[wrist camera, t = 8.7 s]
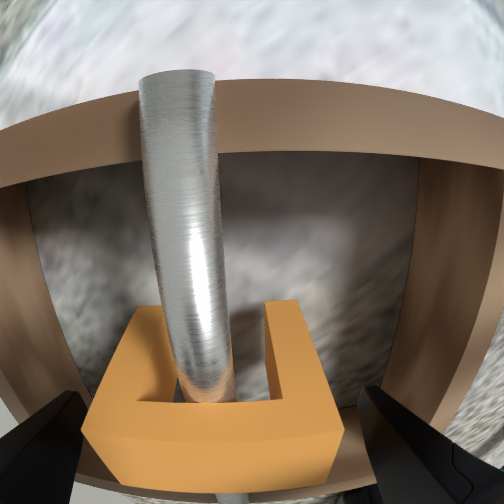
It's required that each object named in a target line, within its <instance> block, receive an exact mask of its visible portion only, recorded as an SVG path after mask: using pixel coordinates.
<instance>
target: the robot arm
mask: <svg viewBox="0 0 504 504" xmlns="http://www.w3.org/2000/svg"><path fill="white" fill-rule="evenodd" d="M357 411H358V415H359V420H360V424H361V429H362V434H363V438H364V443H365V448H366V451H367V454H368V457H369V460H370V463H371V466H372V469H373V472H374V475H375V478H376V481H377V483H375V484H371V485H367V486H363V487H359V488H355V489H351V490H346V491H342V492H340V494H339V496H338V498H337V500H336V501H335V503H334V504H504V471H502V470H500V469H498V468H496V467H494V466H492V465H490V464H488V463H486V462H484V461H482V460H481V459H479V458H477V457H475V456H473V455H472V454H470V453H469V452H467V451H466V450H464V449H463V448H461V447H460V446H458V445H457V444H456V443H453V442H452V441H451V440H450V439H448V438H447V437H446V436H444V435H443V434H442V433H440V432H439V431H437V430H436V429H435V428H433V427H432V426H430V425H429V424H428V423H426V422H425V421H424V420H422V419H421V418H420V417H418V416H417V415H415V414H414V413H413V412H411V411H410V410H409V409H407V408H406V407H405V406H403V405H402V404H401V403H399V402H398V401H397V400H395V399H394V398H393V397H391V396H390V395H389V394H387V393H386V392H385V391H383V390H382V389H381V388H379V387H378V386H377V385H368V386H364V387H362V389H361V392H360V396H359V399H358V403H357ZM87 413H88V408H87V406H86V404H85V402H84V400H83V398H82V396H81V394H80V393H79V392H78V391H76V390H70V389H68V390H65V391H64V392H63V393H61V394H60V395H59V396H57V397H56V398H55V399H53V400H52V401H50V402H49V403H48V404H46V405H45V406H44V407H42V408H41V409H40V410H38V411H37V412H36V413H34V414H33V415H31V416H30V417H29V418H27V419H26V420H25V421H23V422H22V423H21V424H19V425H18V426H16V427H15V428H14V429H13V430H11V431H10V432H8V433H7V434H6V435H4V436H3V437H1V438H0V504H69V502H70V496H71V492H72V488H73V483H74V479H75V475H76V471H77V467H78V463H79V459H80V455H81V451H82V445H83V439H84V434H83V433H82V431H81V428H82V425H83V423H84V420H85V418H86V415H87Z"/></svg>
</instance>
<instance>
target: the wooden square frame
mask: <svg viewBox="0 0 504 504" xmlns="http://www.w3.org/2000/svg"><path fill="white" fill-rule="evenodd" d="M252 151H342V152H364V153H380V154H393V155H405V156H415V157H420V167H419V187H418V201H417V212H416V222H415V231H414V239H413V247H412V254H411V260H410V267H409V273H408V278H407V284H406V289H405V294H404V299H403V304H402V309H401V313H400V318H399V322H398V326H397V330H396V334H395V338H394V342H393V346H392V350H391V353H390V357H389V360H388V364H387V367H386V371H385V374H384V377H383V380H382V384H381V387H380V388H381V389H382V390H383V391H385V392H386V393H387V394H389V395H390V396H391V397H393V398H394V399H395V400H397V401H398V402H399V403H401V404H402V405H403V406H405V407H406V408H407V409H409V410H410V411H411V412H413V413H414V414H415V415H417V416H418V417H420V418H421V419H422V420H424V421H425V422H426V423H428V424H429V425H430V426H432V427H433V428H435V429H436V430H437V431H439V432H440V433H442V434H443V433H444V432H445V430H446V428H447V427H448V425H449V424H450V422H451V420H452V419H453V417H454V415H455V414H456V412H457V410H458V409H459V407H460V405H461V403H462V401H463V400H464V398H465V396H466V394H467V392H468V390H469V388H470V386H471V385H472V383H473V381H474V379H475V377H476V375H477V372H478V370H479V368H480V366H481V364H482V362H483V360H484V357H485V355H486V353H487V350H488V348H489V346H490V343H491V341H492V338H493V336H494V333H495V331H496V328H497V325H498V323H499V320H500V317H501V314H502V311H503V308H504V118H502V117H499V116H496V115H494V114H491V113H488V112H485V111H482V110H478V109H475V108H472V107H469V106H465V105H462V104H458V103H454V102H451V101H447V100H443V99H439V98H435V97H430V96H426V95H421V94H417V93H412V92H407V91H401V90H396V89H390V88H383V87H377V86H370V85H362V84H354V83H344V82H333V81H320V80H302V79H239V80H220V81H215V75H214V74H213V73H211V72H208V71H202V70H172V71H165V72H159V73H155V74H152V75H149V76H146V77H144V78H142V79H141V80H139V90H138V91H132V92H127V93H122V94H117V95H113V96H108V97H104V98H99V99H95V100H91V101H87V102H83V103H80V104H76V105H72V106H69V107H65V108H62V109H59V110H55V111H52V112H49V113H46V114H43V115H40V116H37V117H34V118H31V119H29V120H26V121H23V122H21V123H18V124H15V125H13V126H10V127H8V128H5V129H3V130H0V397H1V399H2V400H3V402H4V403H5V405H6V406H7V408H8V409H9V411H10V412H11V413H12V415H13V416H14V418H15V419H16V420H17V422H18V423H19V424H21V423H22V422H23V421H25V420H26V419H27V418H29V417H30V416H31V415H33V414H34V413H36V412H37V411H38V410H40V409H41V408H42V407H44V406H45V405H46V404H48V403H49V402H50V401H52V400H53V399H55V398H56V397H57V396H59V395H60V394H61V393H63V392H64V391H65V390H68V389H70V390H76V391H78V392H79V393H80V394H81V396H82V398H83V400H84V402H85V404H86V406H87V408H88V411H89V408H90V406H91V404H92V401H93V399H92V397H91V395H90V393H89V391H88V389H87V387H86V385H85V383H84V381H83V379H82V377H81V375H80V373H79V371H78V368H77V366H76V364H75V362H74V359H73V357H72V355H71V352H70V350H69V347H68V345H67V343H66V340H65V337H64V335H63V332H62V330H61V327H60V324H59V322H58V319H57V316H56V313H55V310H54V307H53V304H52V301H51V298H50V295H49V292H48V288H47V285H46V282H45V278H44V275H43V271H42V267H41V264H40V260H39V256H38V252H37V247H36V243H35V238H34V234H33V229H32V224H31V218H30V213H29V207H28V201H27V194H26V187H25V181H29V180H34V179H38V178H42V177H47V176H52V175H56V174H61V173H66V172H71V171H77V170H82V169H88V168H94V167H100V166H106V165H112V164H119V163H126V162H133V161H141V160H142V166H143V177H144V188H145V197H146V206H147V215H148V223H149V230H150V238H151V245H152V251H153V258H154V264H155V270H156V276H157V282H158V288H159V293H160V298H161V304H162V309H163V314H164V319H165V323H166V328H167V333H168V337H169V342H170V346H171V350H172V355H173V359H174V363H175V367H176V371H177V375H178V379H179V383H180V387H181V390H182V394H183V398H184V401H185V403H231V402H237V395H236V386H235V376H234V366H233V356H232V345H231V335H230V323H229V312H228V300H227V288H226V275H225V262H224V249H223V234H222V219H221V204H220V187H219V169H218V153H230V152H252ZM338 412H339V415H340V418H341V421H342V424H343V426H344V429H345V430H344V433H343V436H342V439H341V442H340V445H339V448H338V451H337V453H336V456H335V459H334V462H333V464H332V467H331V470H330V472H329V475H328V477H327V480H326V482H325V484H320V485H314V486H308V487H301V488H294V489H286V490H276V491H265V492H250V493H190V492H175V491H163V490H154V489H146V488H139V487H132V486H126V485H121V483H120V482H119V481H118V480H117V479H116V477H115V476H114V475H113V474H112V472H111V471H110V470H109V469H108V467H107V466H106V465H105V464H104V462H103V461H102V460H101V458H100V457H99V456H98V454H97V453H96V451H95V450H94V449H93V447H92V446H91V445H90V443H89V442H88V440H87V439H86V437H85V436H84V439H83V445H82V451H81V455H80V459H79V463H78V467H77V471H76V475H75V479H74V481H75V482H79V483H82V484H86V485H90V486H93V487H97V488H102V489H106V490H110V491H115V492H120V493H125V494H130V495H136V496H142V497H148V498H156V499H164V500H173V501H184V502H200V503H219V504H250V503H256V502H271V501H283V500H292V499H300V498H307V497H314V496H320V495H326V494H331V493H337V492H342V491H346V490H351V489H355V488H359V487H363V486H367V485H371V484H375V483H377V481H376V478H375V475H374V472H373V469H372V466H371V463H370V460H369V457H368V454H367V451H366V448H365V443H364V438H363V434H362V429H361V424H360V420H359V415H358V411H357V406H353V407H348V408H342V409H338Z"/></svg>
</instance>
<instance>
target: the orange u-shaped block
mask: <svg viewBox="0 0 504 504" xmlns="http://www.w3.org/2000/svg"><path fill="white" fill-rule="evenodd" d="M264 309H265V365H266V372H267V379H268V386H269V393H270V400H266V401H251V402H231V403H173V399H174V394H175V388H176V383H177V378H178V375H177V371H176V367H175V363H174V359H173V355H172V350H171V346H170V342H169V337H168V333H167V328H166V323H165V319H164V314H163V309H162V306H138V307H137V309H136V310H135V312H134V314H133V316H132V318H131V320H130V322H129V324H128V326H127V328H126V330H125V332H124V334H123V336H122V338H121V340H120V342H119V344H118V347H117V349H116V351H115V353H114V355H113V357H112V359H111V361H110V363H109V366H108V368H107V370H106V372H105V374H104V376H103V379H102V381H101V383H100V385H99V388H98V390H97V392H96V394H95V397H94V399H93V401H92V404H91V406H90V408H89V411H88V413H87V415H86V418H85V420H84V423H83V425H82V428H81V431H82V433H83V434H84V436H85V437H86V439H87V440H88V442H89V443H90V445H91V446H92V447H93V449H94V450H95V451H96V453H97V454H98V456H99V457H100V458H101V460H102V461H103V462H104V464H105V465H106V466H107V467H108V469H109V470H110V471H111V472H112V474H113V475H114V476H115V477H116V479H117V480H118V481H119V482H120V483H121V485H126V486H132V487H139V488H146V489H154V490H163V491H175V492H190V493H250V492H265V491H276V490H286V489H294V488H301V487H308V486H314V485H320V484H325V482H326V480H327V477H328V475H329V472H330V470H331V467H332V464H333V462H334V459H335V456H336V453H337V451H338V448H339V445H340V442H341V439H342V436H343V433H344V430H345V429H344V426H343V424H342V421H341V418H340V415H339V412H338V409H337V407H336V404H335V401H334V398H333V395H332V393H331V390H330V387H329V384H328V382H327V379H326V376H325V374H324V371H323V368H322V365H321V363H320V360H319V357H318V355H317V352H316V349H315V347H314V344H313V341H312V339H311V336H310V333H309V331H308V328H307V325H306V323H305V320H304V317H303V315H302V312H301V310H300V307H299V304H298V302H297V299H296V300H282V301H267V302H264Z"/></svg>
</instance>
